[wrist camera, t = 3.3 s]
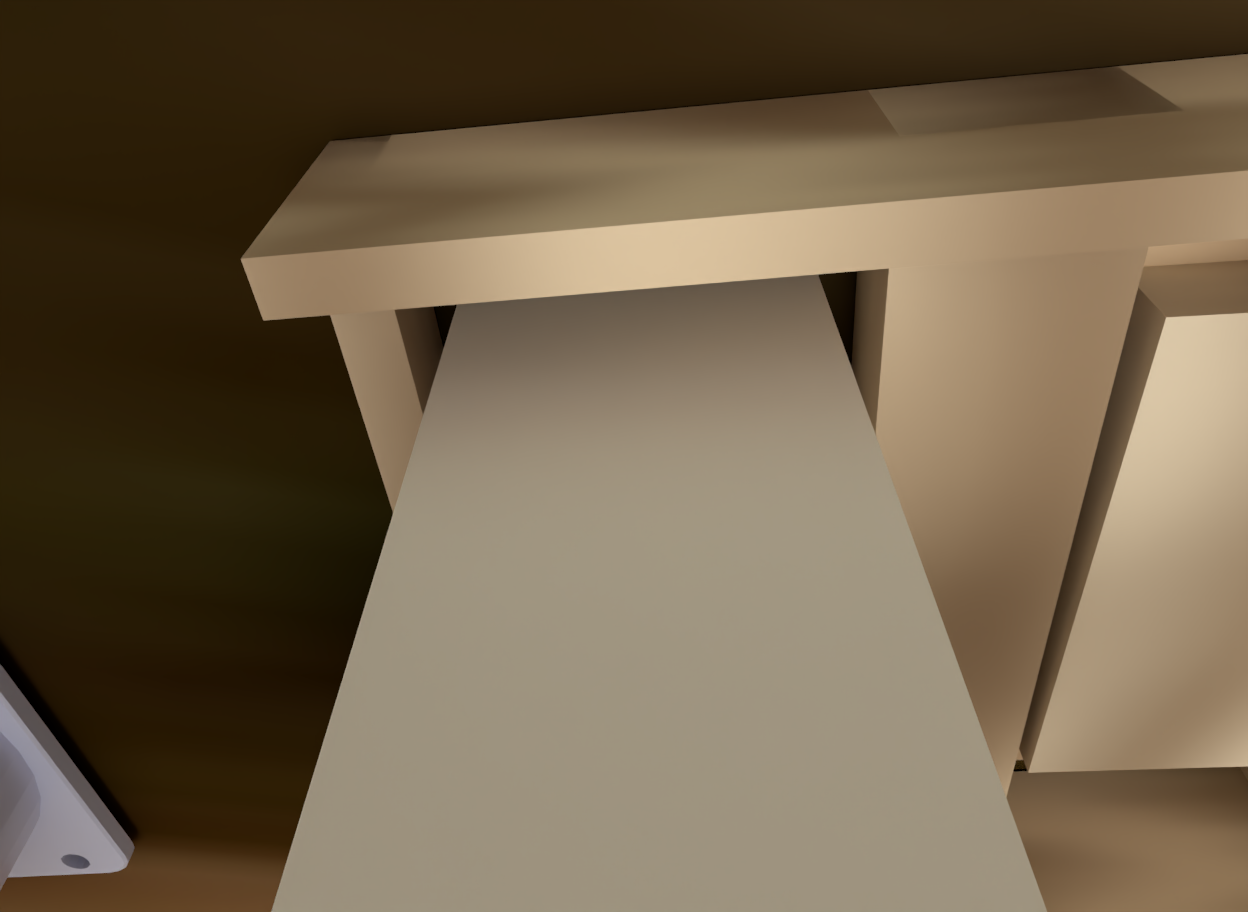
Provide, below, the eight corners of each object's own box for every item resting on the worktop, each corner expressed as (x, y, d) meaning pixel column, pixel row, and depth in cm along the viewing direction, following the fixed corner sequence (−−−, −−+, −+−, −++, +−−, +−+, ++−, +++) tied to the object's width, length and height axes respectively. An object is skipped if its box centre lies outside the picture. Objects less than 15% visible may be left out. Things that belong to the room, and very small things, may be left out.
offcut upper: (1004, 710, 16) (1027, 772, 15) (1119, 267, 11) (1166, 317, 10) (1254, 701, 15) (1294, 764, 14) (1483, 246, 11) (1569, 295, 10)
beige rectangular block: (573, 774, 17) (540, 1387, 11) (465, 273, 11) (248, 984, 5) (795, 762, 17) (895, 1382, 10) (807, 244, 11) (1061, 951, 4)
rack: (520, 814, 18) (504, 975, 16) (330, 141, 10) (241, 259, 8) (1264, 778, 18) (1365, 941, 15) (1672, 14, 10) (2019, 102, 7)
